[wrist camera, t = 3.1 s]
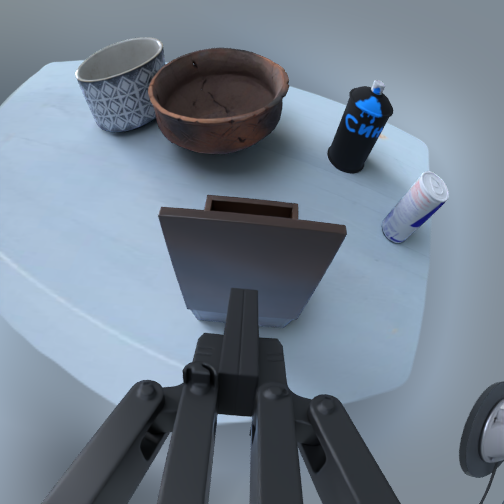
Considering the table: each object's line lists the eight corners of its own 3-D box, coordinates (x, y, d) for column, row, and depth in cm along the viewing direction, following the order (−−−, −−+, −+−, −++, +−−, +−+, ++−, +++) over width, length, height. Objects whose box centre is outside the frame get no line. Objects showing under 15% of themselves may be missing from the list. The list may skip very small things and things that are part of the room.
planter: (118, 151, 52) (94, 91, 37) (85, 119, 57) (65, 69, 42) (187, 106, 58) (181, 47, 43) (145, 82, 63) (135, 32, 48)
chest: (211, 225, 47) (207, 194, 38) (287, 232, 47) (298, 203, 39) (197, 319, 40) (188, 307, 32) (283, 327, 41) (295, 317, 33)
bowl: (137, 140, 54) (120, 85, 40) (219, 89, 62) (219, 38, 48) (218, 205, 48) (214, 142, 34) (302, 135, 56) (317, 79, 42)
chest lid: (160, 206, 18) (157, 215, 18) (346, 224, 19) (347, 234, 18) (188, 303, 32) (187, 309, 32) (296, 313, 32) (296, 319, 32)
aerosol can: (330, 139, 57) (357, 64, 38) (365, 152, 56) (400, 82, 38) (324, 165, 53) (355, 84, 35) (362, 179, 53) (404, 105, 34)
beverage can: (398, 250, 47) (445, 208, 33) (376, 230, 48) (417, 182, 34) (409, 231, 49) (453, 188, 35) (388, 212, 50) (427, 164, 36)
